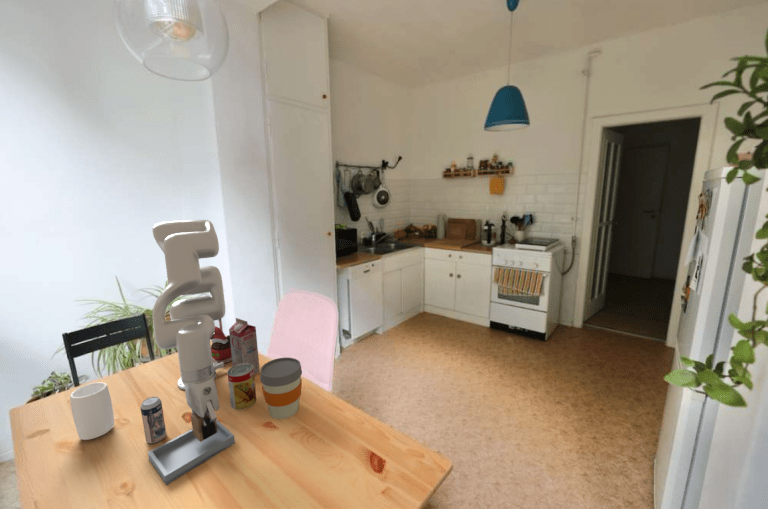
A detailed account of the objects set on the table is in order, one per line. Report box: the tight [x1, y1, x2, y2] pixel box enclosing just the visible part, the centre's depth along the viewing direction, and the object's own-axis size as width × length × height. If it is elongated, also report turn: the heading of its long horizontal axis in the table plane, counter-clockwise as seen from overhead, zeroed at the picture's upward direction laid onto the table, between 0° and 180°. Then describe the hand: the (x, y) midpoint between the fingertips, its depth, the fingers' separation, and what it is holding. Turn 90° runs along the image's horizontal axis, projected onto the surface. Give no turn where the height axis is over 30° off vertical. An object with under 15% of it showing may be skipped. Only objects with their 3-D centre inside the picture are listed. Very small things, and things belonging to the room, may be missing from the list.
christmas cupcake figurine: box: [210, 318, 232, 364], centre depth 137 cm, size 11×9×18 cm
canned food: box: [226, 363, 257, 411], centre depth 109 cm, size 8×8×12 cm
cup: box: [69, 381, 115, 441], centre depth 95 cm, size 8×8×14 cm
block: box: [190, 411, 218, 442], centre depth 91 cm, size 4×4×6 cm
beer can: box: [140, 396, 167, 444], centre depth 93 cm, size 5×5×12 cm
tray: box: [147, 419, 236, 486], centre depth 89 cm, size 17×12×2 cm
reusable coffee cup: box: [259, 357, 303, 420], centre depth 105 cm, size 12×13×15 cm
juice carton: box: [228, 317, 261, 376], centre depth 126 cm, size 7×7×22 cm
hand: (205, 431), depth 91 cm, fingers closed on block, 4 cm apart
